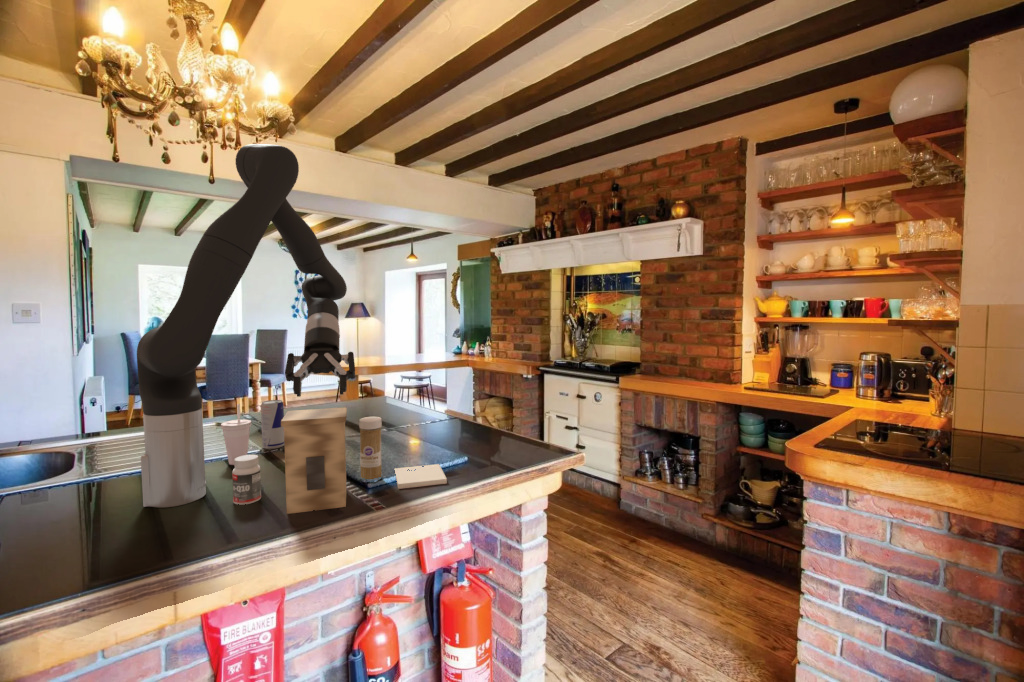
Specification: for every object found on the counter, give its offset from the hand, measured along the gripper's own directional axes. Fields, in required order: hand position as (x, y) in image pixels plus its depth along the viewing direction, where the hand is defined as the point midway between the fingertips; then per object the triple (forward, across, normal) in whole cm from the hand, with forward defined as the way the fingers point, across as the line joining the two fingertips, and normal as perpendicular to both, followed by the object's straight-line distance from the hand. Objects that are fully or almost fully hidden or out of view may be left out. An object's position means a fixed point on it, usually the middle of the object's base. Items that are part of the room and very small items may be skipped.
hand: (320, 393), depth 102 cm
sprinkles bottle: (+16, +10, +11) cm, 22 cm away
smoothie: (0, -20, +26) cm, 33 cm away
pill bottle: (+19, -13, +8) cm, 24 cm away
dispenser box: (+22, 0, +4) cm, 22 cm away
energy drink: (-8, -14, +35) cm, 38 cm away
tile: (+17, +20, +9) cm, 28 cm away
